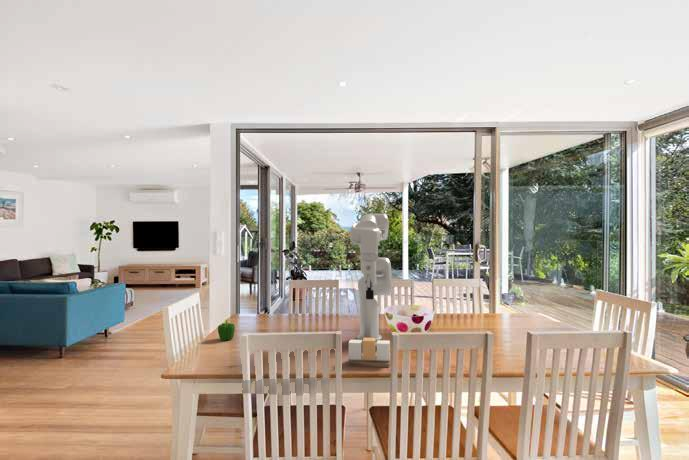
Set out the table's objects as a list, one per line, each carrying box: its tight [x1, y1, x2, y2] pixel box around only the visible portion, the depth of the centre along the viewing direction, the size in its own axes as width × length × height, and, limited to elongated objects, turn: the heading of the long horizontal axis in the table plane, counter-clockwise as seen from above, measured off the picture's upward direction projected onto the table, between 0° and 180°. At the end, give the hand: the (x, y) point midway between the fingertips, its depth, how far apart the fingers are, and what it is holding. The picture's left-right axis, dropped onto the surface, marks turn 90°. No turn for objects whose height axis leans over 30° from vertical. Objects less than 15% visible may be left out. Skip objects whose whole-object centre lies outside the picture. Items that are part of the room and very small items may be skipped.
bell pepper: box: [217, 319, 236, 341], centre depth 218 cm, size 8×8×10 cm
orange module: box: [362, 338, 377, 360], centre depth 178 cm, size 5×5×8 cm
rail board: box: [347, 339, 391, 368], centre depth 178 cm, size 10×17×9 cm, turn 82°
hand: (369, 298), depth 184 cm, fingers closed
